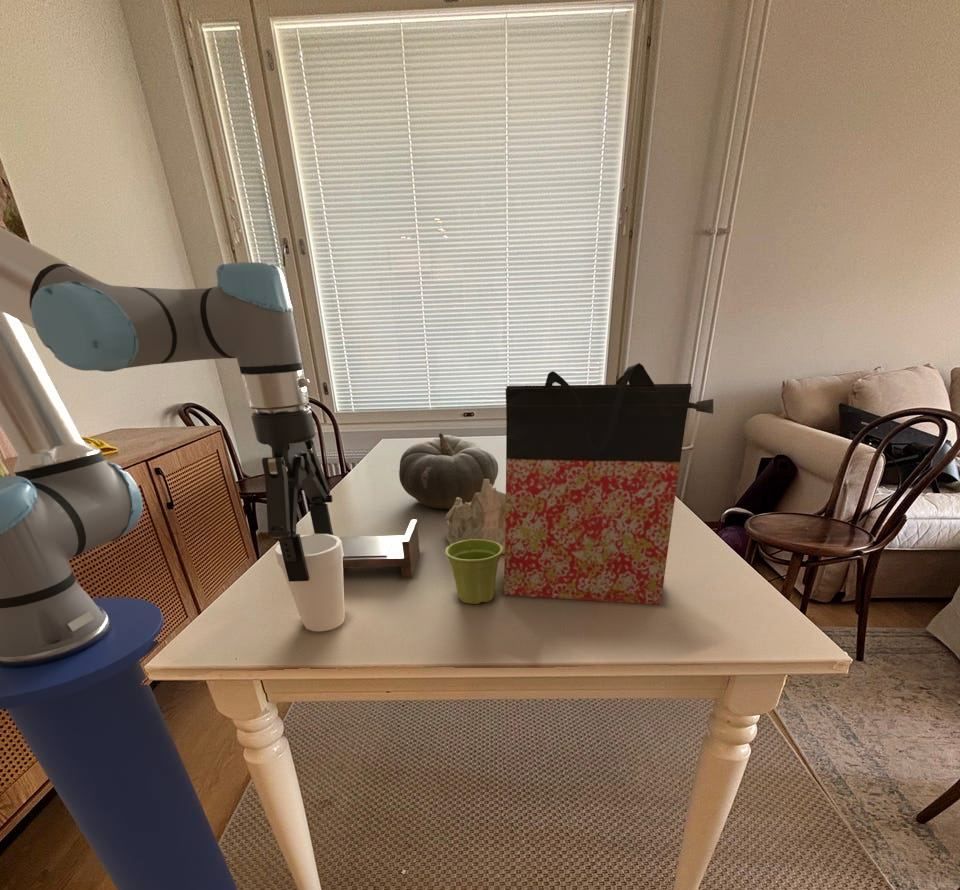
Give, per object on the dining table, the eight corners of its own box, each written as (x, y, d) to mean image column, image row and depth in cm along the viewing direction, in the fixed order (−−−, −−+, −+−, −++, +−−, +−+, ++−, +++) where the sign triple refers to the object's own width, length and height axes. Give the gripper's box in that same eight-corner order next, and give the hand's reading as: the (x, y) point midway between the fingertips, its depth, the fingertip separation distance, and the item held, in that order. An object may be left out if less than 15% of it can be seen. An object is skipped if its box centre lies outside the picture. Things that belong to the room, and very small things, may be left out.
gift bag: (500, 602, 89) (497, 368, 71) (513, 568, 101) (514, 360, 83) (685, 615, 84) (732, 364, 66) (676, 577, 96) (714, 356, 78)
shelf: (326, 580, 100) (319, 543, 96) (342, 555, 110) (336, 521, 106) (412, 578, 99) (408, 541, 95) (420, 553, 109) (417, 519, 105)
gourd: (453, 472, 155) (452, 411, 143) (517, 502, 142) (522, 437, 130) (384, 501, 141) (376, 435, 130) (448, 537, 129) (446, 468, 117)
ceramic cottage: (541, 544, 111) (538, 470, 103) (471, 564, 105) (462, 486, 98) (505, 527, 123) (500, 460, 116) (440, 544, 117) (430, 474, 110)
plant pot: (439, 604, 90) (435, 556, 85) (462, 582, 97) (459, 536, 92) (490, 613, 86) (489, 563, 82) (511, 589, 94) (510, 542, 89)
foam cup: (283, 634, 82) (263, 555, 76) (308, 607, 90) (292, 533, 84) (342, 637, 81) (327, 557, 74) (362, 609, 89) (350, 534, 82)
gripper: (274, 423, 59) (314, 597, 69) (334, 395, 80) (356, 531, 91) (207, 426, 59) (257, 599, 70) (284, 397, 80) (313, 533, 91)
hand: (313, 561), depth 80 cm, fingers open, 13 cm apart
